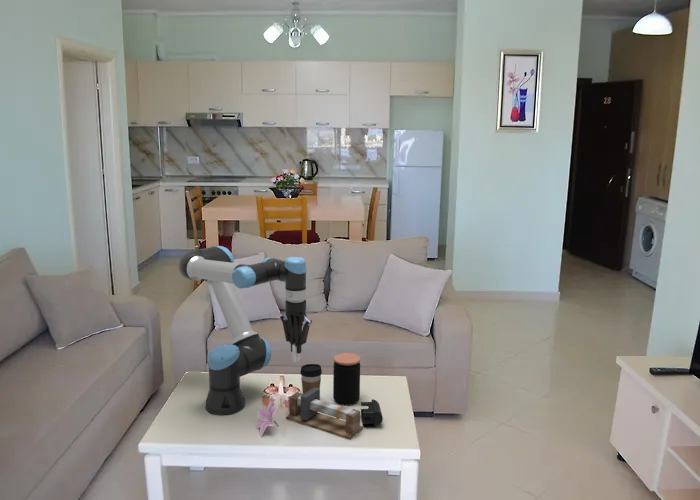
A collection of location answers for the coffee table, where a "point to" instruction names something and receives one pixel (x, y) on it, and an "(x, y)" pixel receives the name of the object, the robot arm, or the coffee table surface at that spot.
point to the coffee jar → (346, 378)
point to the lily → (266, 417)
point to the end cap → (371, 414)
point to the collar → (305, 403)
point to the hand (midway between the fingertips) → (296, 360)
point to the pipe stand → (326, 417)
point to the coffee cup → (310, 376)
